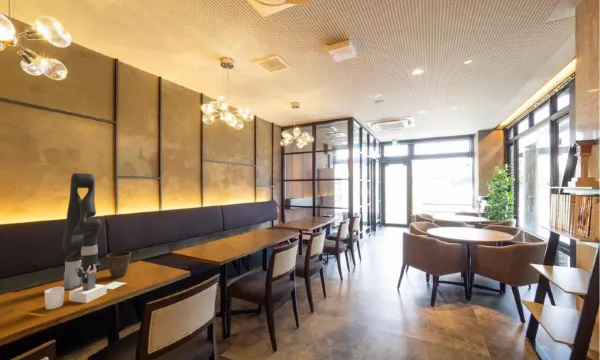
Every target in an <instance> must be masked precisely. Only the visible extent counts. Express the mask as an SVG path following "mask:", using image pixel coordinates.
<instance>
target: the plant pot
mask: <svg viewBox="0 0 600 360" xmlns="http://www.w3.org/2000/svg"><path fill="white" fill-rule="evenodd" d="M131 256H132V252H131V251H125V250H124V251H116V252H110V253H108V254H106V255H105V258H106V264H107V268H108V271H109V273H110V276H111V278H112V279H119V278H123V277H125V275H126V273H127V271H128V268H129V265H130V262H131V261H130V260H131Z"/></svg>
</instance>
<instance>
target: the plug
mask: <svg viewBox="0 0 600 360" xmlns="http://www.w3.org/2000/svg"><path fill="white" fill-rule="evenodd" d="M85 272H86V271H85ZM95 272H96V269H95V270H90V271H89V272H88V273H87V284H83V286H82V287H83V290H85V291H88V290H91V289H93V288H95V284H96V279H95ZM84 274H85V273H84Z"/></svg>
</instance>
